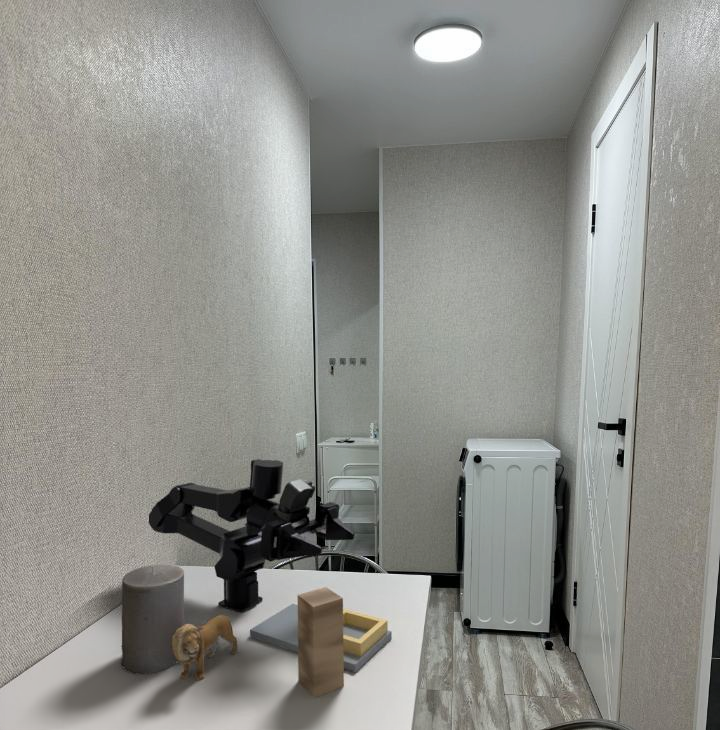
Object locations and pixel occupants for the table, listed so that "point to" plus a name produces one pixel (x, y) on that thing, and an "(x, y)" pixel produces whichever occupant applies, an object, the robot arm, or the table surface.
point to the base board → (358, 634)
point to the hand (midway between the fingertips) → (338, 543)
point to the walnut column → (320, 641)
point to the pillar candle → (151, 617)
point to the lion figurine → (201, 642)
